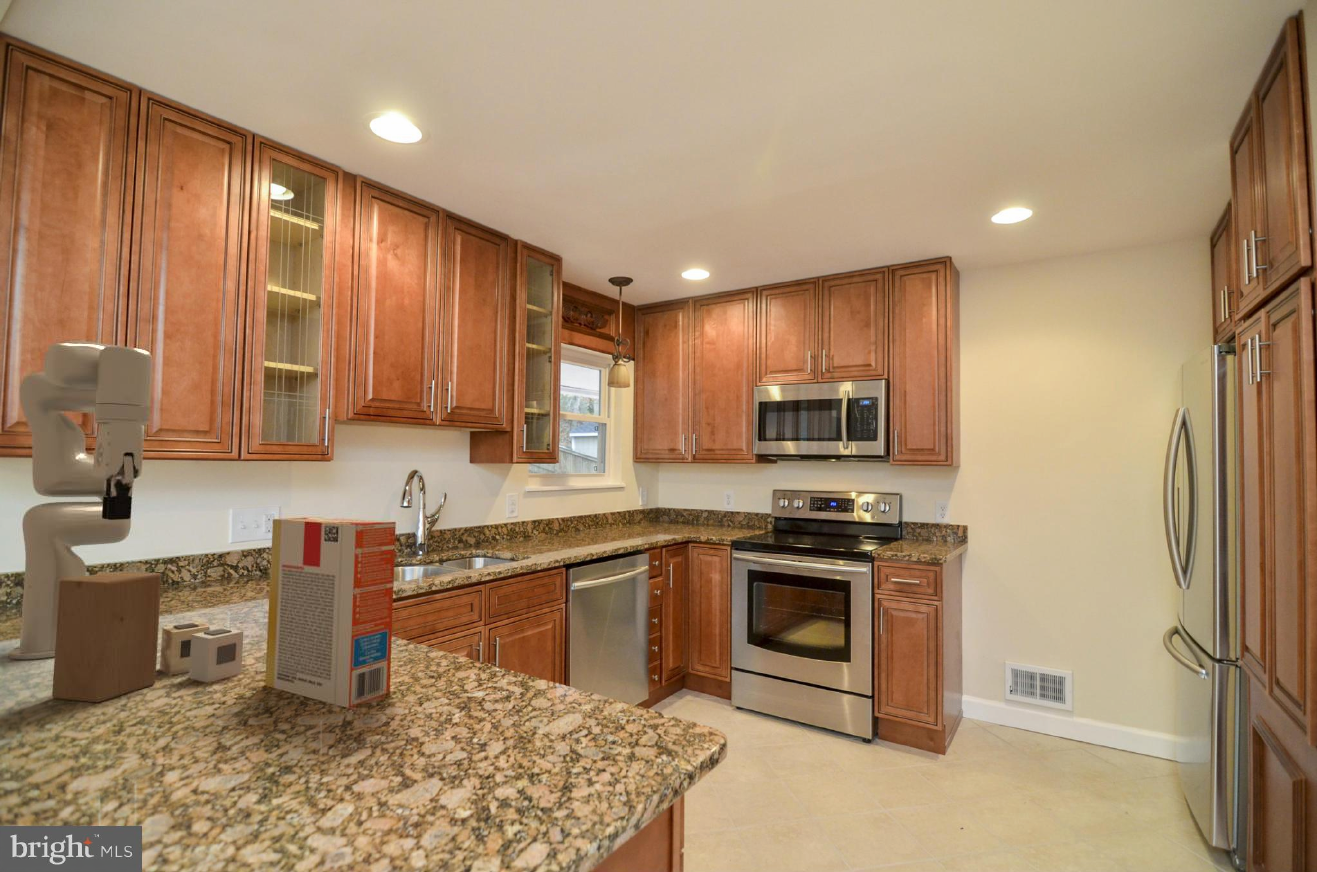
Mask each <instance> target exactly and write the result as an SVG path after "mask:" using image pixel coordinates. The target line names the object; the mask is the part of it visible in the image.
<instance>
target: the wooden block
mask: <svg viewBox="0 0 1317 872" xmlns="http://www.w3.org/2000/svg"><path fill="white" fill-rule="evenodd" d="M161 588H162V574H161V573H160V572H141V571H140V572H139V571H118V570H117V571H111V572H104V573H97V574H96V573H95V574H91V575H86V576H82V577H75V578H68V579H63V580H61V581H60V586H59V601H58V616H57V631H56V645H55V657H54V661H53V662H54V665H53V677H52V678H53V679H52V692H51V696H52V698H53V699H57V700H58V699H59V700H66V701H67V700H69V701H79V702H87V703H88V702H89V703H102V702H105V701H108V700H111V699H113V698H117V697H120V696H123V695H126V694H129V693H132V692H135V691H138V690H141V689H144V688H147V687H150V686H153V685H155V683H156V676H157V659H158V641H159V625H160V609H161V608H160V606H161V593H162V592H161V590H162V589H161Z"/></svg>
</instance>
